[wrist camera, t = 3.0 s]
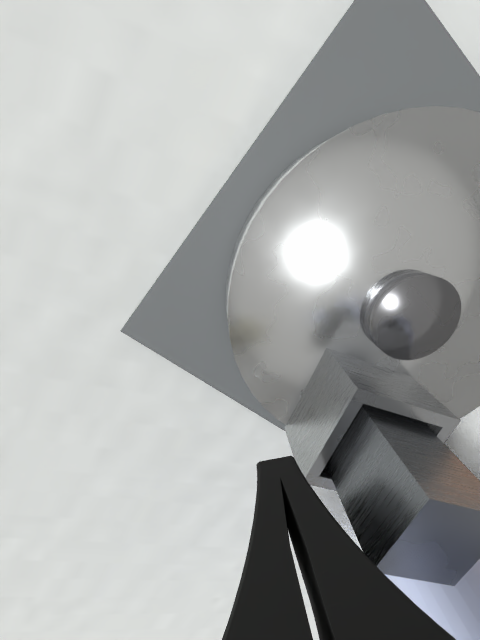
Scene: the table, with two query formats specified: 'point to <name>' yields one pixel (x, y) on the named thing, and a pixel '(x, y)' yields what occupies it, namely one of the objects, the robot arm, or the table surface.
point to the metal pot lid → (364, 282)
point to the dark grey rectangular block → (407, 497)
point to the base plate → (280, 152)
